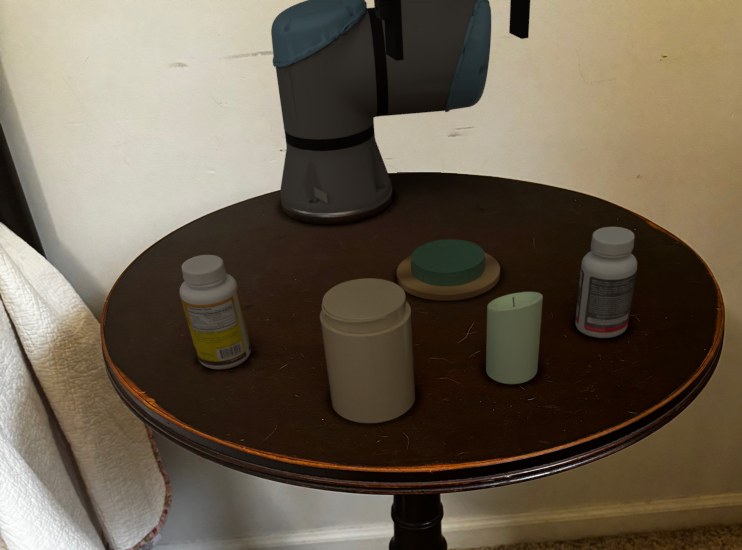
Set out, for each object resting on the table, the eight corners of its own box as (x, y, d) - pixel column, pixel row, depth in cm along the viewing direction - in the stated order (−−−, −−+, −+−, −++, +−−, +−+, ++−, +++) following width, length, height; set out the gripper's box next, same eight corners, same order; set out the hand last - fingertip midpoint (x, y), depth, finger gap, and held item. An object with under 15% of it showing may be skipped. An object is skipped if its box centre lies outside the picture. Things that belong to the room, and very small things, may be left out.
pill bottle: (638, 328, 82) (654, 236, 76) (599, 345, 81) (612, 252, 74) (601, 308, 86) (614, 218, 79) (563, 324, 84) (572, 233, 77)
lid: (497, 275, 91) (498, 261, 89) (429, 293, 89) (429, 278, 87) (465, 247, 96) (465, 233, 95) (400, 262, 94) (399, 248, 93)
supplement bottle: (216, 339, 85) (193, 247, 78) (261, 347, 84) (242, 254, 76) (187, 367, 82) (161, 272, 74) (234, 376, 80) (211, 280, 73)
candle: (475, 369, 79) (476, 291, 73) (513, 351, 81) (517, 274, 75) (508, 391, 76) (512, 312, 70) (547, 372, 78) (554, 294, 72)
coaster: (381, 266, 95) (380, 260, 95) (471, 244, 98) (471, 238, 98) (422, 310, 87) (422, 304, 87) (518, 285, 90) (519, 278, 90)
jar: (320, 388, 78) (305, 288, 70) (395, 367, 80) (388, 268, 72) (348, 432, 72) (336, 330, 65) (429, 408, 74) (425, 306, 67)
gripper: (568, -264, 70) (549, 19, 85) (296, -243, 64) (327, 56, 79) (616, -266, 65) (586, 35, 80) (325, -244, 59) (353, 76, 74)
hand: (458, 46), depth 80 cm, fingers open, 13 cm apart
